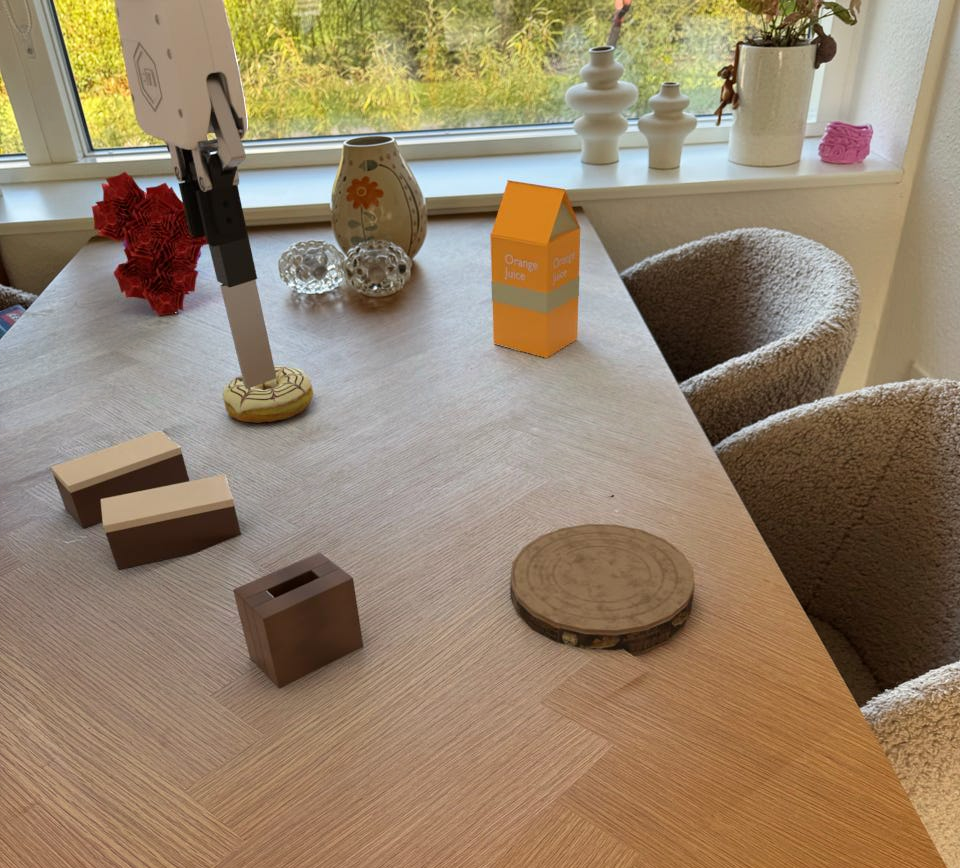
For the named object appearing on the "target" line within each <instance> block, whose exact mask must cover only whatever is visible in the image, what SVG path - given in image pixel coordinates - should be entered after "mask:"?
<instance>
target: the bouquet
mask: <svg viewBox="0 0 960 868" xmlns="http://www.w3.org/2000/svg"><path fill="white" fill-rule="evenodd" d="M105 181H106V182H107V183H103V182H102V183H101V188H102V189H101V190H102V200H100V201H99V200H98V201H96V202H95V204H96V205H92V206H91V211H92V216H93V229H94V230H98V231H97V235H98V236H101V237H104V238H109V239H111V240H114V241H116V242H120V241H121V242H122V243H123V244H122V245H123V247H124V249H123V252H124V254H125V257H126V259H127V260H126V261H125V262H123V263H119V264H118V265H117V267H116V268H115V270H114V271H113V276H114V277H115V279H116V282H117V283H118V286H119V289H120V293H124V294H125V298H126V299H130V298H136V299H141V300H146V301H147V302H148V303H149V306H150V308H151V310H152V312H153V313H154V312H155V313H156V314H157V316H158V315H161V316H163V315H172V314H171V313H175V312H177V311H178V312H179V311H183V312H184V299H185V295H190V293H189V292H192V293H193V292H194V293H195V290H196V282H197V277H198V275H199V271H198V270H196V269H197V268H198V262H199V260H200V258H201V256H202V249H201V248H202V247H204V246H206V245H209V244H208V243H207V241H206V237H205V236H204V237H200V238H195V237H193V236H191V235H190V233H189V229H188V224H187V220H186V215H185V211H184V206H183V202H182V199H180V198H179V197H178V195H177V194H176V192H175V191H174V188H173V186H170V187H169V186H168V184H167V182H164V183H161V184H159V185H156V186H149V187H145V191H144V190H143V189H142V188H141V187H140V186H139V185H138V184H137V182H136V181H135V179H134V178H133V176H132V175H129V174H128V172H126V171H123V172H121V173H120V174H118V175H114V176H110V177H107V178H105Z"/></svg>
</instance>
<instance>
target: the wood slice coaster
mask: <svg viewBox="0 0 960 868" xmlns="http://www.w3.org/2000/svg"><path fill="white" fill-rule="evenodd" d="M510 570H511V571H510V577H509V588H510V591H509V592H510V593H509V594H510V600H511V603H512V606H513V607H514V610H515V612H516V615H517V616H518V617H519V618H520V619H521V621H523V622H524V623H525V625H527V626H528V628H530V629H531V630H532V631H533V632H535V633H538V634H539V635H541V636H544V637H545V638H547V639H549V640H551V641H553V642H555V643H558V644H562V645H566V646H570V647H573V648H578V649H582V650H598V651H619V650H624V651H625V652H627V653H628V654H630V655H631V656H639V655H644V654H646V653H649V652H651V651H653V650H656V649H658V648H660V647H663V646H666V645H667V644H669V643H670V642H671V641H672V640H674V638H676V637H677V636H678V635H679V634H680V633H681V632H683V631H684V629H685V627H686V625H687V623H688V621H689V618H690V616H691V613H692V609H693V601H694V593H695V585H696V584H695V576H694V567H693V566H692V564H691V563H690V561H689V560H688V559H687V557H686V556H685V554H684V552H683V551H682V550H680V549H679V548H677V546H675V545H673V544H672V543H671V542H669V541H668V540H667V539H665V538H663V537H660V536H658V535H655V534H653V533H651V532H648V531H645V530H644V529H639V528H635V527H630V526H624V525H620V524H605V523H585V524H579V525H573V526H566V527H561V528H558V529H556V530H553V531H551V532H547V533H544V534H542V535H539V536H538V537H537V538H535V539H534V540H532V541H531V542H529V543H527V545H525V546H523V547H522V549H521V550H520V552H518V554H517V555H516V557H515V559H513V561H512V563H511V569H510Z"/></svg>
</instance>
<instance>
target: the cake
mask: <svg viewBox="0 0 960 868" xmlns="http://www.w3.org/2000/svg"><path fill="white" fill-rule="evenodd" d="M50 470H51V473H52V476H53V478H54V481H55V484H56V487H57V490H58V492H59V495H60V497H61V501H62V504H63V506H64V508H65V510H66V511H67V512H68V514H69V515H70V516H71V517H72V518H73V519H74V520H75V521H76V523H77V524H78V525H79V526H80V527H81V528H82V529H87V528H89V527H92V526H94V525H97V524H100V523H103V521H102V510H101V499H104V498H109V497H114V496H119V495H124V494H129V493H134V492H139V491H144V490H149V489H154V488H159V487H164V486H169V485H174V484H179V483H184V482H189V481H190V478H189V473H188V470H187V466H186V463H185V459H184V455H183V451H182V447H181V446H180V445H179V444H177V443H176V442H175V441H174V440H173V439H172V438H170V437H169V436H168V435H167V434H166V433H164V432H163V431H162V430H156V431H154V432H149V433H147V434H144V435H141V436H138V437H135V438H132V439H129V440H127V441H124V442H121V443H118V444H115V445H111V446H109V447H105V448H103V449H100V450H97V451H94V452H91V453H88V454H85V455H83V456H79V457H76V458H73V459H70V460H68V461H64V462H61V463H58V464H54V465H52V466H50Z"/></svg>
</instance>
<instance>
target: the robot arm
mask: <svg viewBox="0 0 960 868" xmlns="http://www.w3.org/2000/svg"><path fill="white" fill-rule="evenodd" d="M114 8H115V16H116V22H117V30H118V35H119V41H120V46H121V47H120V48H121V52H122V57H123V61H124V62H123V63H124V67H125V72H126V77H127V82H128V87H129V92H130V97H131V102H132V106H133V112H134V117H135V120H136V124H137V126H138V127H139V128H140V129H141V131H142V132H143V133H145V134H146V135H148V136H149V137H152V138H154V139H156V140H159V141H162V142H163V143H165V145H166V149H167V151H168V153H169V154H170V160H171V164H172V168H173V173H174V176H175V178H176V180H177V182H178V188H179V192H180V197H181V201H182V202H183V206H184V211H185V215H186V220H187V224H188V229H189V233H190V235H191V236H193V237H195V238H200V237H204V236H205V237H206V241H207V243H208V244H207V245H208V246H209V245H211V246H213V247H214V246H219V245H223V244H227V243H231V242H235V241H239V240H243V239H245V238H246V235H247V233H248V232H247V233H246V228H247V227H246V228H245V223H246V221H245V222H244V219H245V216H244V217H243V214H244V210H243V211H242V209H243V205H242V201H240V200H241V197H240V190H239V186H238V185H240V176H239V171H238V167H239V165H241V164H242V163H243V162H244V161H245V160H246V151H245V148H244V145H243V142H242V139H243V138H244V137H245V136H246V135H247V132H248V127H249V125H248V123H249V122H248V115H247V106H246V100H245V99H246V98H245V93H244V88H243V82H242V77H241V73H240V66H239V62H238V57H237V53H236V48H235V43H234V40H233V39H234V38H233V34H232V31H231V26H230V23H229V19H228V18H229V17H228V14H227V11H226V7H225V3H224V0H114ZM208 134H214V135H215V138H214V139H209V138H208ZM211 153H212V154H211ZM207 158H209V161H208V163H207ZM193 161H194V163H195V168H196V173H197V177H198V182H199V185H200V188H201V190H197V191H195V186H194V182H193V178H192V174H191V170H190V166H189V162H193ZM241 205H242V206H241Z"/></svg>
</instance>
